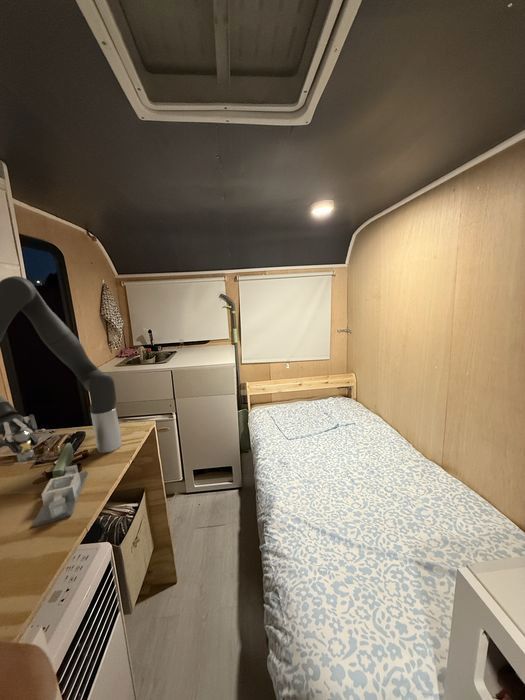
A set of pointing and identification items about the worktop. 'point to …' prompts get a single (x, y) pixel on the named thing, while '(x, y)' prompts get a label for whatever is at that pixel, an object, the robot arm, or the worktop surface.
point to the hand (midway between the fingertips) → (28, 447)
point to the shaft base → (69, 504)
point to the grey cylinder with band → (24, 445)
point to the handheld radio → (63, 461)
